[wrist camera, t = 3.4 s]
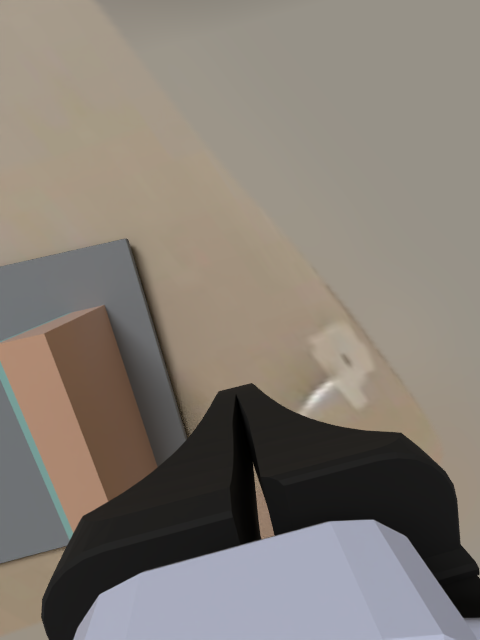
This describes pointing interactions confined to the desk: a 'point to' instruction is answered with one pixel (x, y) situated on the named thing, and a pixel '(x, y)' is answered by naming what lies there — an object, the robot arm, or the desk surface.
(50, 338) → the tan wooden block
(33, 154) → the desk surface
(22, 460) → the mat
